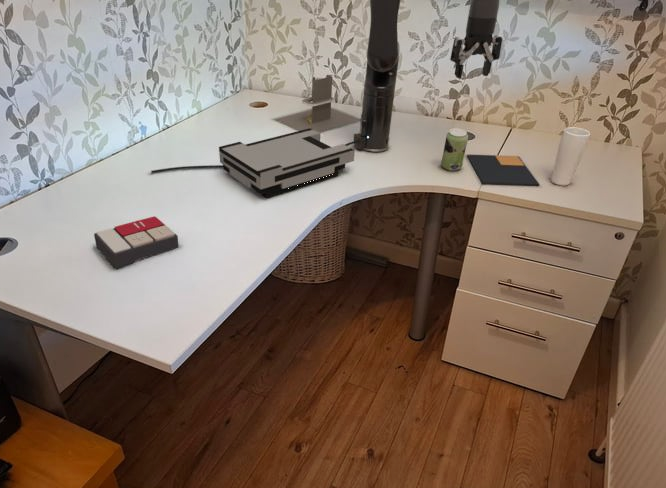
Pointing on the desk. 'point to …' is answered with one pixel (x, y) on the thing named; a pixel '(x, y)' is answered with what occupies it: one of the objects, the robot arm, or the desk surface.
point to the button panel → (135, 241)
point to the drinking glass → (569, 154)
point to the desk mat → (502, 170)
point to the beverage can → (454, 149)
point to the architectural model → (319, 110)
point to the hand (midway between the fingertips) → (471, 76)
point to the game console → (284, 162)
